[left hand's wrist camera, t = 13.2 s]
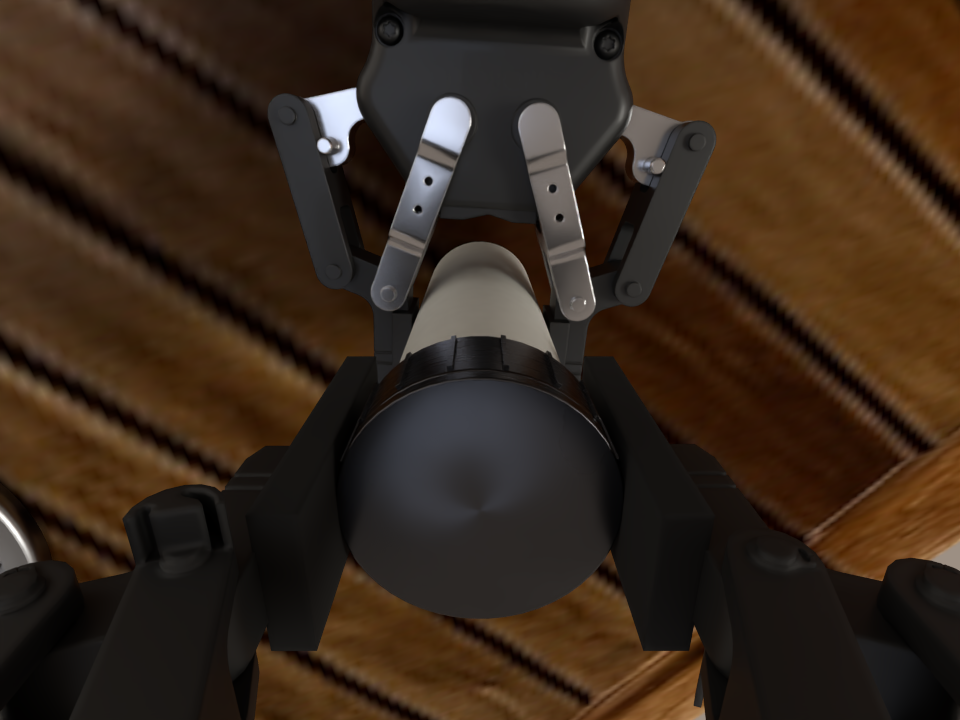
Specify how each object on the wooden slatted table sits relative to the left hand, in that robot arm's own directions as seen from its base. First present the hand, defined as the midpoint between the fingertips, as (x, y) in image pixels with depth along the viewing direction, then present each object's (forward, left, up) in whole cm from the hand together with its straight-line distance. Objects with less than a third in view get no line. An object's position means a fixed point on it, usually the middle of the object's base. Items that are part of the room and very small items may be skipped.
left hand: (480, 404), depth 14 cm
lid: (0, 0, +4) cm, 4 cm away
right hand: (+1, -2, -6) cm, 6 cm away
